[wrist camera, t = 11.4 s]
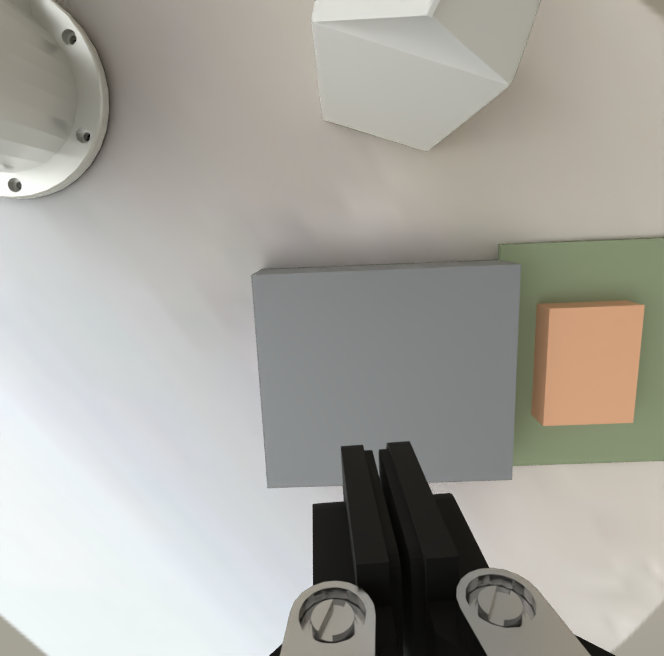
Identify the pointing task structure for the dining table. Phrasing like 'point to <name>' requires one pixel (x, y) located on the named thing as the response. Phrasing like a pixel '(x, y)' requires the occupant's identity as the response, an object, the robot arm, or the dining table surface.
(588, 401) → the tile
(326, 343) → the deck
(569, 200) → the dining table surface
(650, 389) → the mat
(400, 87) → the milk carton
